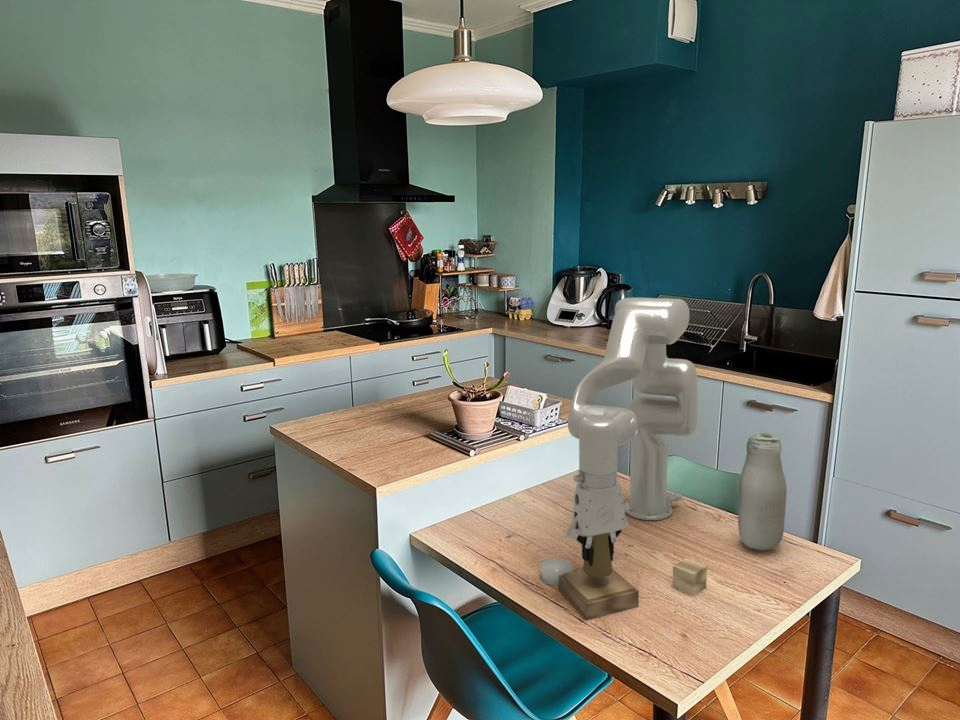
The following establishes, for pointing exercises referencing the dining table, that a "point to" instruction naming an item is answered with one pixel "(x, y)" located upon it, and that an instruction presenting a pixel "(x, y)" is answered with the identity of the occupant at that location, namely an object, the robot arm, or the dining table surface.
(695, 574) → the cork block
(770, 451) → the glass bottle
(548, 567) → the pale grey dome
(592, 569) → the pepper shaker
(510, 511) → the dining table surface
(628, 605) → the walnut stand
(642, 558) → the dining table surface
